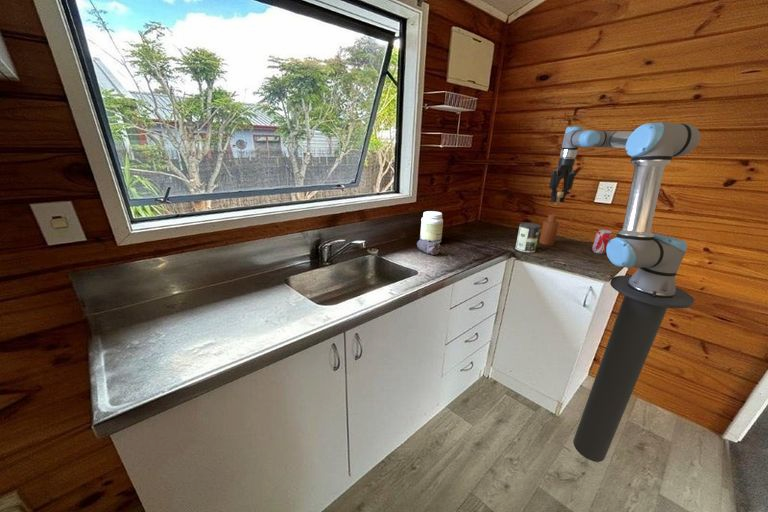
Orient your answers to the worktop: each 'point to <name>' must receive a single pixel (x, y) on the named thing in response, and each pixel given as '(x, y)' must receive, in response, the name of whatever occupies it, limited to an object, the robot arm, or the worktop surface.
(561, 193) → the stopper
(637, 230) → the robot arm
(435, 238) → the supplement tub
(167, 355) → the worktop surface
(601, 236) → the soda can
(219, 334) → the worktop surface
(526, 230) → the coffee can
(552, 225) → the bottle
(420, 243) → the perforated stone tool
